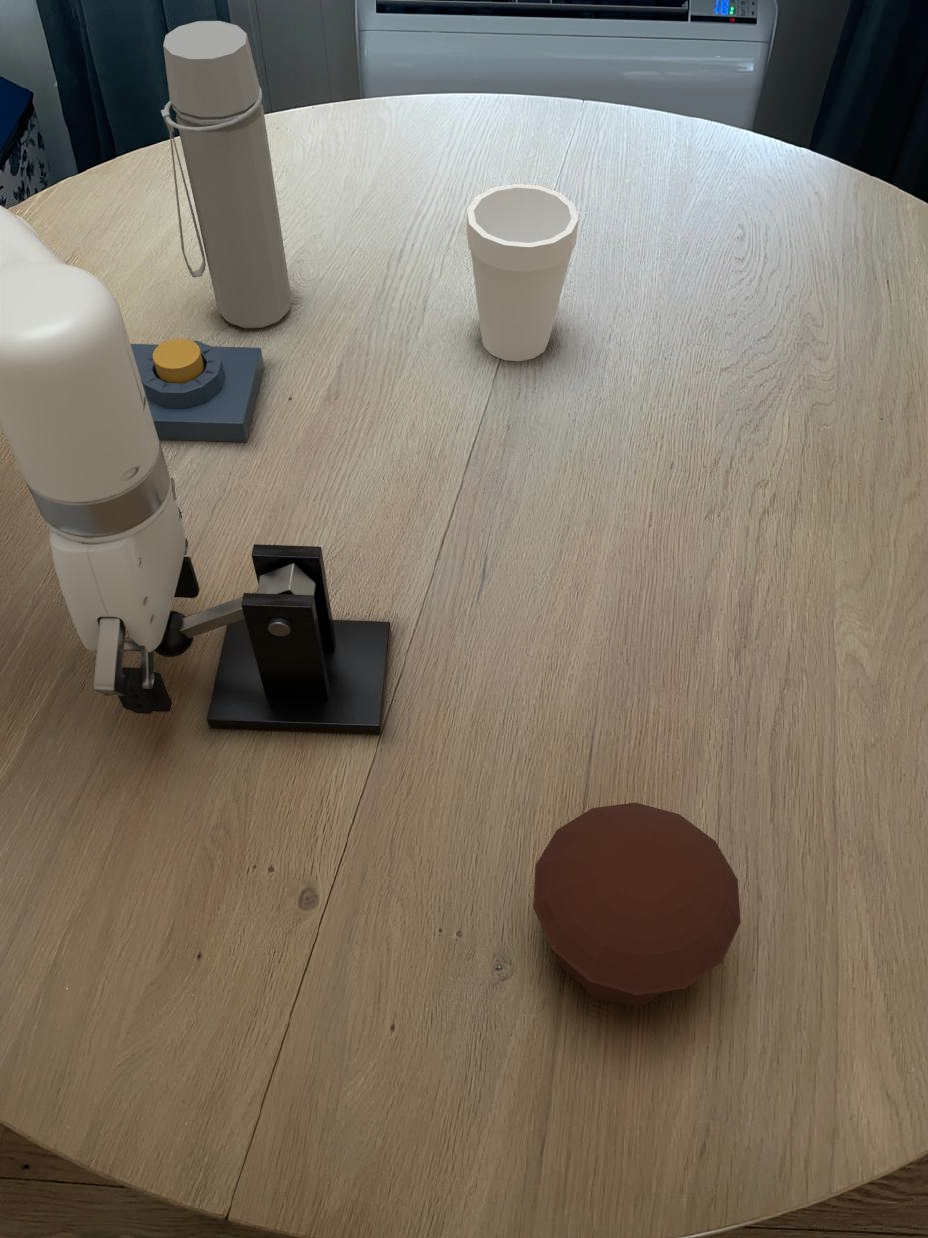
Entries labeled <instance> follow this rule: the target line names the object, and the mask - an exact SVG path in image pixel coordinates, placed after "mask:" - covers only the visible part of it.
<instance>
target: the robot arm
mask: <svg viewBox="0 0 928 1238" xmlns="http://www.w3.org/2000/svg"><path fill="white" fill-rule="evenodd" d="M120 308H121V307H120V306H119V304H118V302H117V299H116V297H115V296H114V294H113V293H112V291H111V290H110V288H108V286H107V285H106V284H105V283H104V282H103V281H102V280H101V279H100V278H99V277H97V276H96V275H94V274H92V273H91V272H89V271H88V270H86V269H83V268H81V267H78V266H75V265H71V264H67V263H65V262H64V261H63V260H62V259H61V258H60V257H59V256H58V255H57V254H56V253H55V252H54V251H53V250H52V249H51V248H50V247H49V245H47V244H46V243H45V242H44V241H43V239H42V238H41V236H40V235H39V234H38V232H37V231H36V230H35V228H34V227H33V226H32V225H31V224H30V223H29V222H28V221H26V220H25V219H24V218H23V217H21V216H19V215H17V214H15V213H13V212H11V211H10V210H9V209H8V208H6V207H4V206H3V205H0V428H1V430H2V433H3V435H4V437H5V440H6V441H7V443H8V446H9V448H10V450H11V453H12V455H13V457H14V459H15V461H16V464H17V465H18V466H17V467H18V468H19V470H20V473H21V474H22V476H23V478H24V481H25V483H26V485H27V487H28V490H29V492H30V494H31V496H32V499H33V500H34V502H35V505H36V507H37V509H38V511H39V513H40V516H41V518H42V520H43V522H44V523H45V524H46V526H47V527H48V528H49V530H50V535H49V545H50V549H51V555H52V560H53V564H54V568H55V569H54V570H55V573H56V577H57V581H58V584H59V587H60V590H61V593H62V596H63V599H64V601H65V604H66V607H67V610H68V613H69V615H70V618H71V620H72V623H73V625H74V628H75V631H76V633H77V636H78V637H79V639H80V641H81V643H82V645H83V646H84V648H85V649H86V650H88V651H92V652H96V657H95V667H94V677H93V690H94V692H95V693H98V694H101V695H104V696H116V697H118V699H119V702H120V703H121V706H122V708H123V709H124V710H127V711H129V712H131V713H134V714H138V715H151V714H153V713H155V712H157V713H169V712H171V710H172V706H173V701H172V699H171V696H170V694H169V691H168V689H167V686H166V682H165V681H164V678H163V676H162V673H160V672H159V671H155V652H154V650H155V649H156V648H157V647H158V646H159V644H160V643H161V641H162V638H163V635H164V632H165V629H166V625H167V621H168V618H169V614H170V611H172V606H173V603H174V599H175V598H178V599H179V598H181V599H183V598H184V599H196V598H197V597H198V596H199V595H200V585H199V582H198V578H197V575H196V572H195V569H194V565H193V562H192V559H191V556H187V555H188V551H189V541H188V538H186V533H185V528H184V523H183V515H182V513H183V512H182V511H181V510H180V507H178V504H177V495H176V485H175V479H174V478H173V477H171V474H170V472H169V468H168V465H167V462H166V458H165V454H164V452H163V449H162V445H161V441H160V439H159V438H158V436H157V432H156V429H155V426H154V422H153V419H152V415H151V412H150V408H149V405H148V402H147V398H146V395H145V391H144V388H143V385H142V381H141V378H140V374H139V371H138V368H137V364H136V361H135V358H134V354H133V351H132V348H131V344H132V343H131V341H130V338H129V334H128V331H127V328H126V324H125V321H124V318H123V314H122V311H121V309H120ZM126 633H127V636H126ZM124 651H125V652H139V667H132V666H131V667H129V666H123V662H124Z"/></svg>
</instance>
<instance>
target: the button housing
mask: <svg viewBox="0 0 928 1238" xmlns="http://www.w3.org/2000/svg"><path fill="white" fill-rule="evenodd" d="M192 341H193V342H195V343H196V344H197V345H198V346H199V348H200V351H201V355H202V360H203V364H204V369H203V372H202V374H201V375H200V376H198V377H197V378H196V379H195V380H192V381H189V382H186V383H182V384H179V383H167V382H164V381H163V380H161V379H160V378H159V376H158V374H157V371H156V367H155V364H154V360H153V352H154V350H155V349H156V347H157V346H159V345H160V344H153V343H152V344H151V343H130V344H131V348H132V351H133V354H134V358H135V361H136V364H137V368H138V371H139V374H140V378H141V381H142V385H143V388H144V391H145V395H146V398H147V402H148V405H149V408H150V412H151V415H152V419H153V422H154V426H155V429H156V432H157V436H158V438H159V440H167V441H168V440H169V441H172V440H173V441H198V442H199V441H201V442H230V443H247V442H248V439H249V435H250V430H251V426H252V421H253V417H254V414H255V413H254V412H255V408H256V404H257V400H258V395H259V391H260V387H261V384H262V383H261V382H262V380H263V379H262V378H263V375H264V369H265V363H264V357H263V351H262V348H261V347H245V346H217V345H216V346H213V345H209V344H206V343H204V342H202V341H201V340H192Z"/></svg>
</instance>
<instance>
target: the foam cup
mask: <svg viewBox="0 0 928 1238" xmlns="http://www.w3.org/2000/svg"><path fill="white" fill-rule="evenodd" d="M578 229H579V216H578V212H577V208H576V205H575V204H574V203H573V202H572V201H570V200H569V199H568V197H566V196H565V195H564V194H562V193H561V192H559V191H556V190H552V189H550V188H548V187H544V186H541V185H536V184H524V183H512V184H506V185H501V186H495V187H491V188H489V189H487V190H485V191H484V192H482V193H479V194H478V195H476V196H475V197H474V198H473V199H472V201H471V203H470V204H469V206H468V207H467V208H466V240H467V245H468V250H469V251H470V257H471V262H472V272H473V280H474V287H475V288H474V289H475V296H476V303H477V314H478V320H479V328H480V335H481V341H482V346H483V348H484V349H485V351H487V352H488V353H489V354H490V355H491V356H493V357H496V358H498V359H500V360H503V361H511V362H523V361H529V360H533V359H536V357H538V356H540V355H541V354H543V353H544V352H545V351H546V348H547V346H548V345H549V340H550V338H551V335H552V331H553V328H554V327H553V326H554V322H555V319H556V315H557V311H558V307H559V303H560V299H561V296H562V290H563V288H564V283H565V279H566V274H567V271H568V268H569V264H570V259H571V255H572V252H573V251H574V249H575V247H576V244H577V237H578Z"/></svg>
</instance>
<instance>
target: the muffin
mask: <svg viewBox="0 0 928 1238" xmlns="http://www.w3.org/2000/svg"><path fill="white" fill-rule="evenodd" d="M534 868H535V869H534V883H533V884H534V886H533V904H532V908H533V911H534V913H535V915H536V917H537V919H538V922H539V924H540V926H541V928H542V930H543V933H544V935H545V937H546V939H547V942H548V944H549V946H550V948H551V950H552V951H553V952H555V954H556V957H557V962H558V966H559V968H561V969H562V970H563V971H565V973H567V974H568V975H569V976H570V977H572V978H573V979H574V980H575V981H576V982H577V983H578V984H579V985H580V986H581V988H582V989H584V991H586V993H587V994H588V995H589V996H590V998H591V999H592V1000H594V1001H605V1002H617V1003H621V1004H625V1005H629V1006H632V1007H635V1008H639V1009H641V1008H642V1007H643V1006H646V1004H648V1003H650V1002H651V1001H652V1000H654V999H655V998H657V997H659V996H661V995H663V994H666V993H668V992H671V991H677V990H685V989H687V988H688V987H690V986H691V985H692V984H693V983H695V982H697V981H698V980H699V979H701V978H702V977H704V976H705V975H706V974H708V973H709V972H711V971H712V970H713V969H715V968H716V967H717V966H719V965H720V964H722V963H723V962H724V960H725V957H726V955H727V953H728V951H729V949H730V946H731V945H732V942H733V940H734V938H735V936H736V934H737V931H738V929H739V927H740V925H741V910H740V908H741V907H740V893H739V882H738V881H739V879H738V877H737V876H736V874H735V872H734V871H733V869H732V867H731V865H730V864H729V862H728V861H727V859H726V856H725V855H724V853H723V851H722V850H721V848H720V847H719V845H718V843H717V841H716V840H715V839H713V838H712V837H711V836H709V835H708V834H707V833H705V832H704V831H702V830H701V829H700V828H699V827H697V826H696V825H694V824H693V823H692V822H691V821H689V820H688V819H686V818H685V817H684V816H682V814H680V813H676V812H673V811H670V810H666V809H662V808H658V807H655V806H650V805H646V804H643V803H639V802H628V803H621V804H613V805H605V806H598V807H591V808H590V809H588V810H586V811H585V812H583V813H582V814H580V815H579V816H577V817H576V818H574V819H572V820H571V821H569V822H568V823H566V824H564V825H561V826H560V827H559V828H558V829H556V830H555V832H554V834H553V835H552V837H551V839H550V841H549V842H548V843H547V845H546V847H545V849H544V850H543V852H542V853H541V855H540V856H539V858H538V860H537V862H536V864H535V867H534Z"/></svg>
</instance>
